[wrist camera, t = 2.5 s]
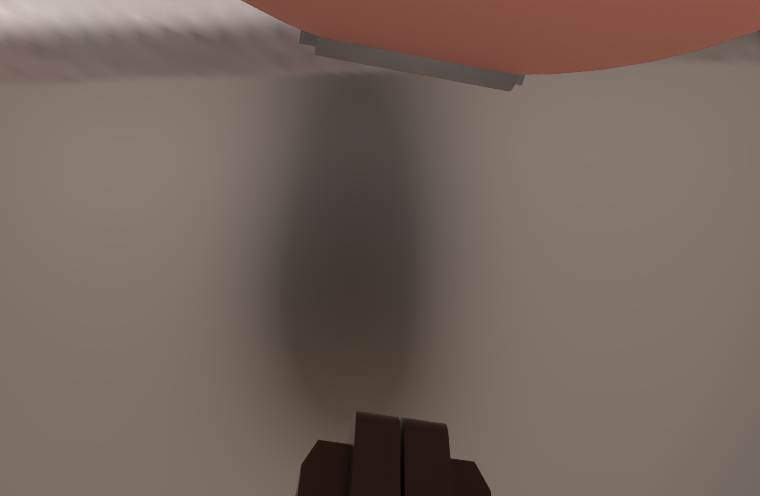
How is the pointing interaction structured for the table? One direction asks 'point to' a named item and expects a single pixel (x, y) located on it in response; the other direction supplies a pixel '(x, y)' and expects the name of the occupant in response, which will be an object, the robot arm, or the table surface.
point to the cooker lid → (512, 33)
